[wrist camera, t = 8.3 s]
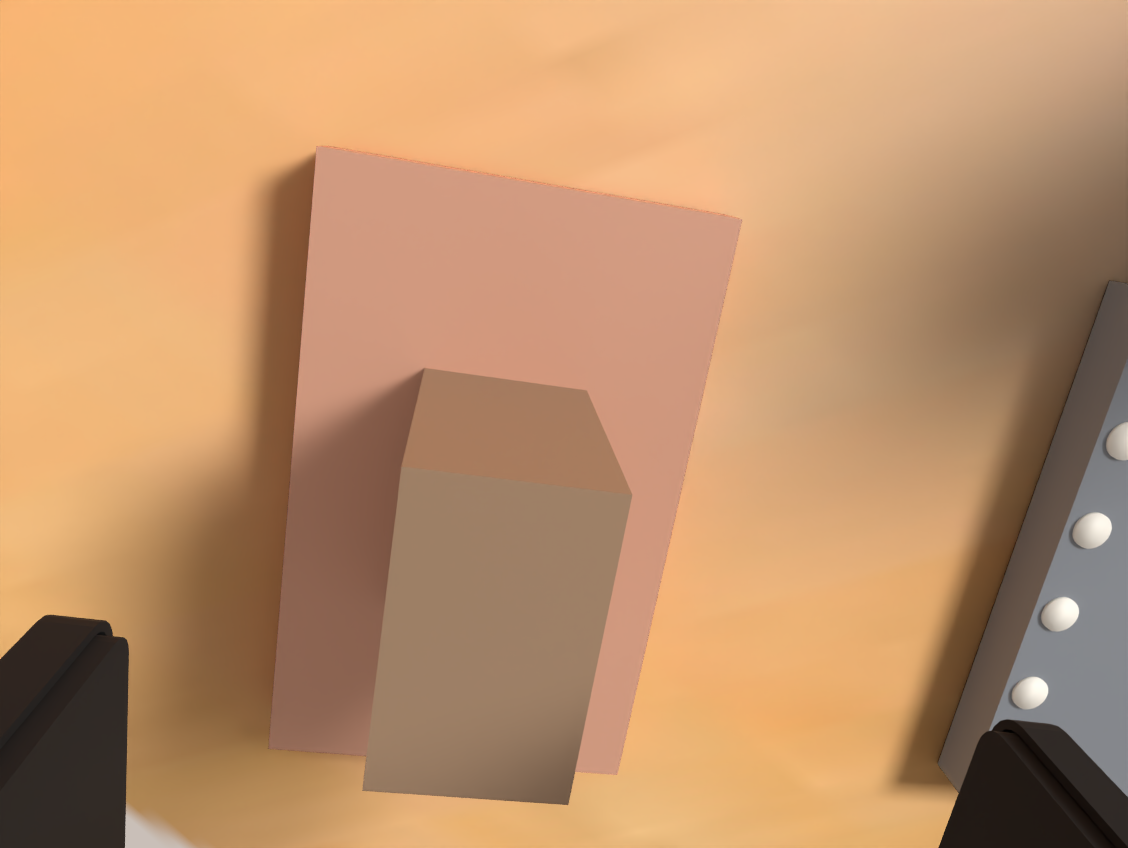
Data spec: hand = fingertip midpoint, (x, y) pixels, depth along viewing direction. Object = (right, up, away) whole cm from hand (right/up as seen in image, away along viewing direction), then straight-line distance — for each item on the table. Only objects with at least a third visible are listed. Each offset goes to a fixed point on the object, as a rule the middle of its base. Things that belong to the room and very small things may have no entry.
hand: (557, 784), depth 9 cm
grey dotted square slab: (+16, 0, +11) cm, 19 cm away
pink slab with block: (-1, +3, +8) cm, 9 cm away
